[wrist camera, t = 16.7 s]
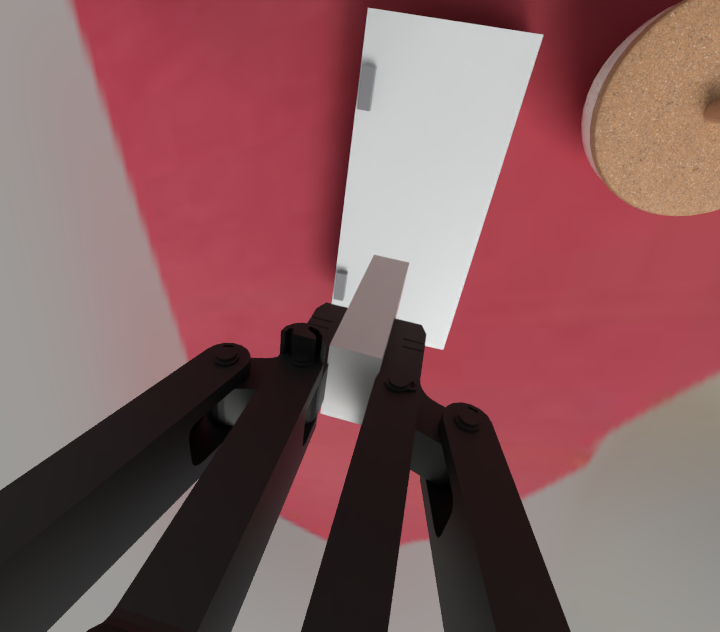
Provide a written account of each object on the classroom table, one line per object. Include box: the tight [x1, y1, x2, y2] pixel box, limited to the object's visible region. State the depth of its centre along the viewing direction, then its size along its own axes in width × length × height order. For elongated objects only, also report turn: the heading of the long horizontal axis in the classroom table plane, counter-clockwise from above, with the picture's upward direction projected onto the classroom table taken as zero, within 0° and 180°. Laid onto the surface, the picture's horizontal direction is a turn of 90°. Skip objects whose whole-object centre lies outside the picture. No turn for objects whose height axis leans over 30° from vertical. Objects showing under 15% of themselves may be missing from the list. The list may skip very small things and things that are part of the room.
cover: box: [332, 8, 543, 350], centre depth 28 cm, size 22×10×1 cm, turn 172°
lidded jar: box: [581, 0, 720, 216], centre depth 22 cm, size 11×11×9 cm
